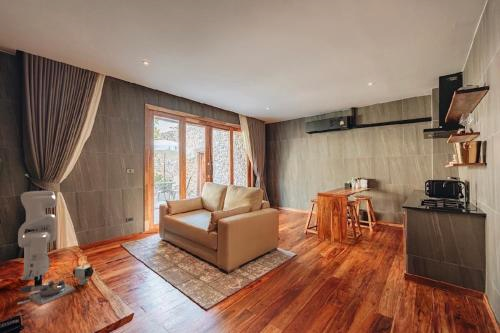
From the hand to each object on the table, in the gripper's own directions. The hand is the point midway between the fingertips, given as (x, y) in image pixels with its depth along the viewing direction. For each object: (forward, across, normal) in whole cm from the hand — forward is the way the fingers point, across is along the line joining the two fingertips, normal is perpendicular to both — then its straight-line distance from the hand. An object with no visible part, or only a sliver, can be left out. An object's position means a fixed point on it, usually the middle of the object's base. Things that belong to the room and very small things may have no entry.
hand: (38, 285), depth 132 cm
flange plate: (+4, -6, -9) cm, 12 cm away
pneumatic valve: (+4, +7, -22) cm, 23 cm away
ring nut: (+2, -4, -6) cm, 7 cm away
